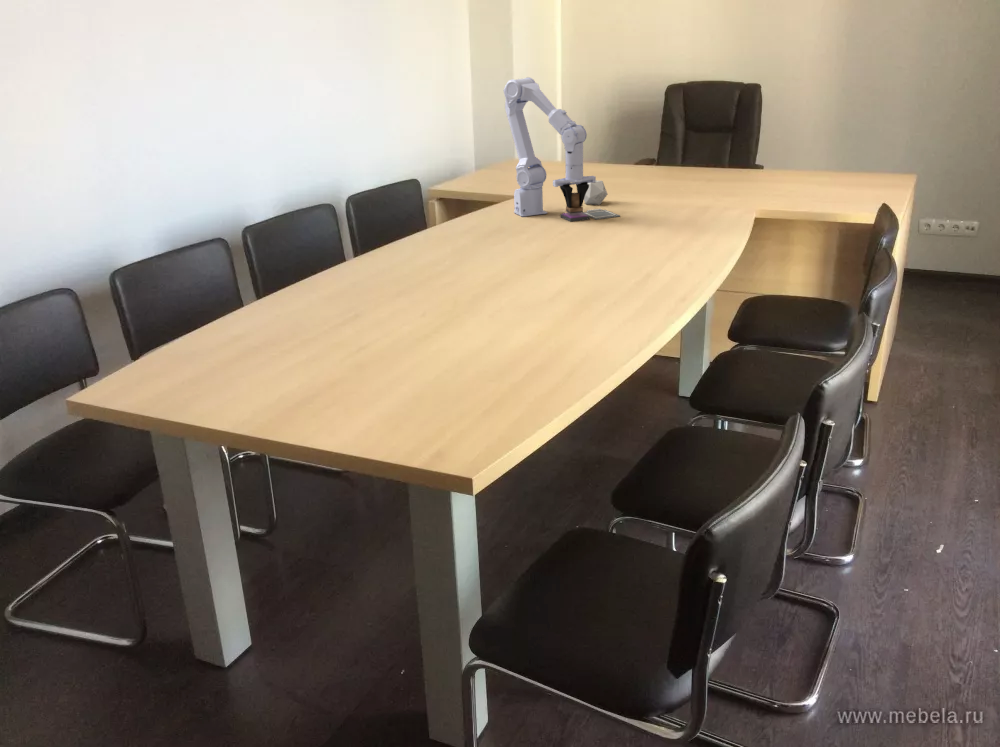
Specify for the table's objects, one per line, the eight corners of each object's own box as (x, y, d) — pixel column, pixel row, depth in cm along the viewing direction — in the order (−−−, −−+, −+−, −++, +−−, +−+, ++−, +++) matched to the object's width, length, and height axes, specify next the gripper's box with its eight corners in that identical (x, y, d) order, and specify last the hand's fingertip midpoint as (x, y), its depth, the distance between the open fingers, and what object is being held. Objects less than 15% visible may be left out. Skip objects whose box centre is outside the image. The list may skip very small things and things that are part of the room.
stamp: (570, 213, 277) (570, 195, 274) (566, 211, 280) (565, 192, 278) (582, 212, 277) (582, 194, 275) (578, 209, 281) (578, 191, 279)
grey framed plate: (595, 219, 276) (595, 216, 276) (581, 213, 286) (581, 210, 286) (620, 216, 279) (620, 213, 279) (605, 210, 289) (605, 207, 288)
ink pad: (570, 221, 275) (570, 217, 275) (560, 217, 282) (560, 213, 282) (589, 219, 277) (589, 215, 277) (579, 214, 284) (579, 211, 284)
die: (591, 209, 295) (608, 185, 292) (572, 195, 297) (589, 171, 295) (598, 213, 303) (615, 189, 300) (580, 199, 305) (596, 176, 303)
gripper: (558, 168, 267) (559, 211, 272) (600, 164, 272) (599, 206, 277) (550, 165, 273) (550, 207, 279) (590, 161, 278) (590, 202, 283)
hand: (574, 206), depth 278 cm, fingers closed on stamp, 3 cm apart
